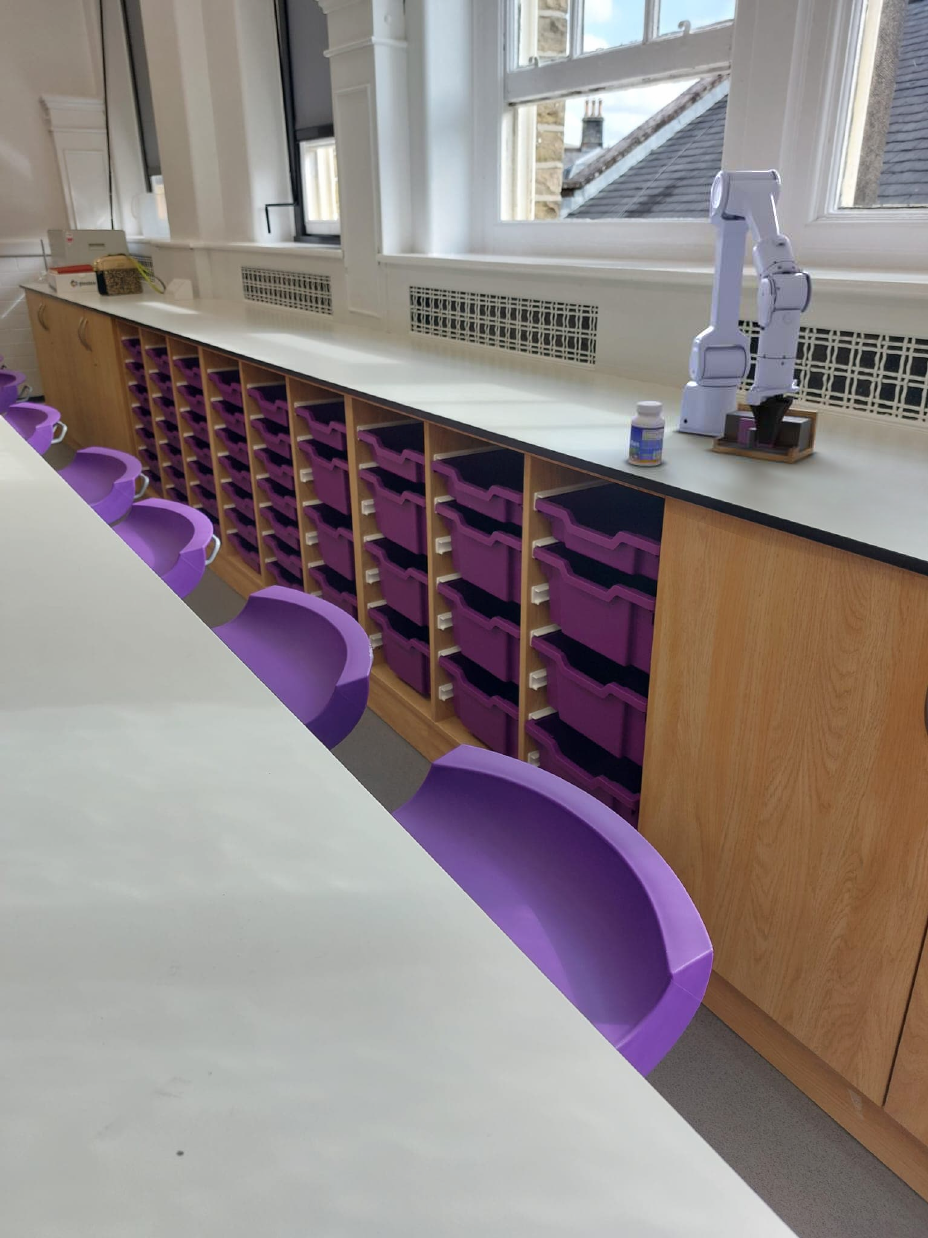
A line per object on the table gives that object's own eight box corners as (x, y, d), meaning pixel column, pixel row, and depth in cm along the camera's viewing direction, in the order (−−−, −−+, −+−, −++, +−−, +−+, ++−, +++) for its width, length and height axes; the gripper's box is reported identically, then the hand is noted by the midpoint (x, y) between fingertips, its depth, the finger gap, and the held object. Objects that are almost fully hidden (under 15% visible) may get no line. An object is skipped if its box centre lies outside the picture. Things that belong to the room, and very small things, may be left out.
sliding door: (723, 451, 146) (726, 423, 144) (738, 445, 150) (742, 417, 148) (757, 457, 142) (761, 428, 140) (772, 450, 146) (776, 421, 144)
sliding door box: (712, 450, 151) (716, 410, 148) (735, 441, 157) (740, 402, 155) (791, 462, 143) (797, 419, 140) (812, 452, 149) (818, 411, 146)
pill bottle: (624, 459, 147) (628, 400, 143) (656, 457, 148) (660, 399, 144) (633, 467, 142) (637, 406, 138) (665, 466, 143) (670, 405, 139)
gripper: (782, 364, 128) (770, 455, 134) (820, 352, 138) (807, 438, 144) (736, 360, 132) (727, 449, 138) (776, 349, 142) (766, 433, 148)
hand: (765, 443), depth 141 cm, fingers closed, pressing on sliding door
